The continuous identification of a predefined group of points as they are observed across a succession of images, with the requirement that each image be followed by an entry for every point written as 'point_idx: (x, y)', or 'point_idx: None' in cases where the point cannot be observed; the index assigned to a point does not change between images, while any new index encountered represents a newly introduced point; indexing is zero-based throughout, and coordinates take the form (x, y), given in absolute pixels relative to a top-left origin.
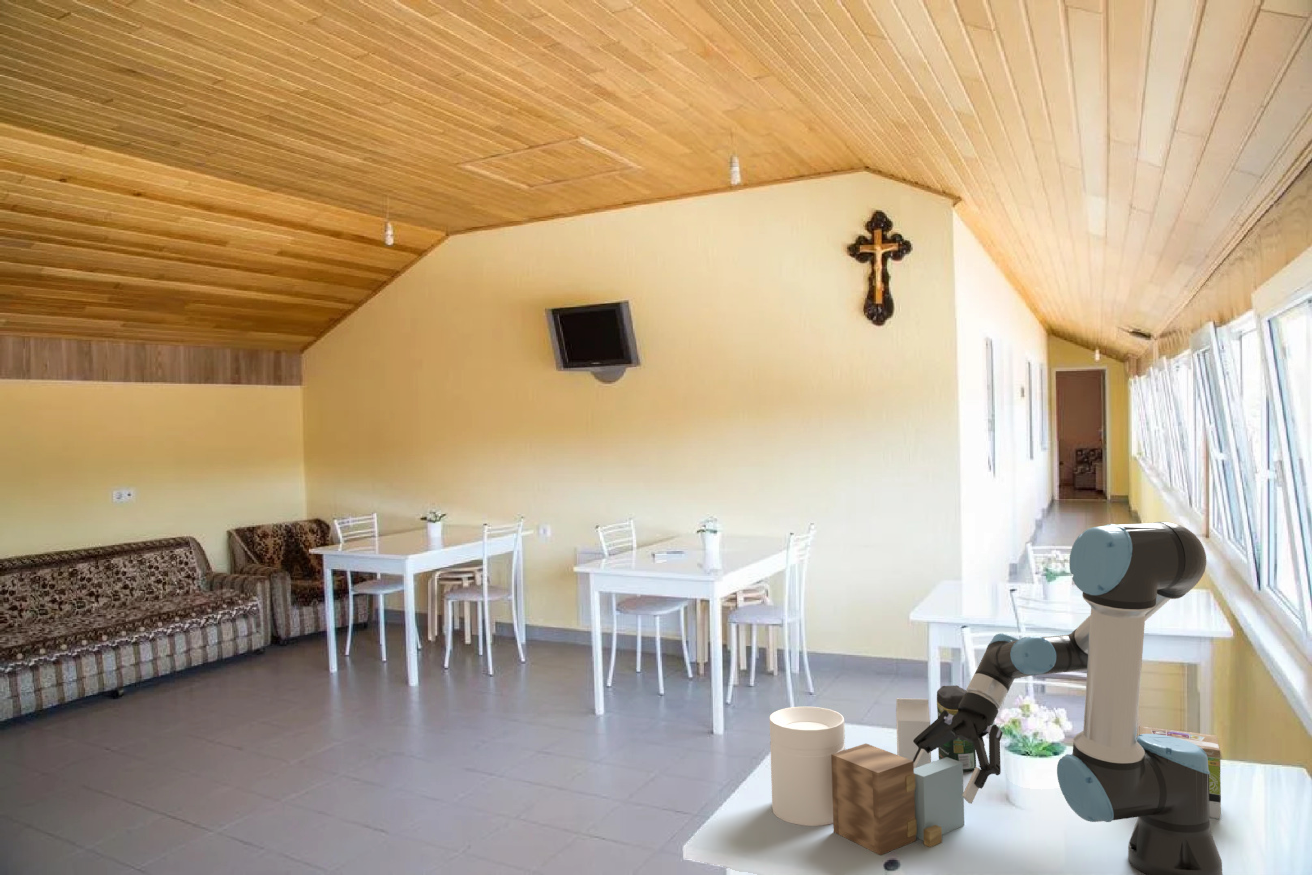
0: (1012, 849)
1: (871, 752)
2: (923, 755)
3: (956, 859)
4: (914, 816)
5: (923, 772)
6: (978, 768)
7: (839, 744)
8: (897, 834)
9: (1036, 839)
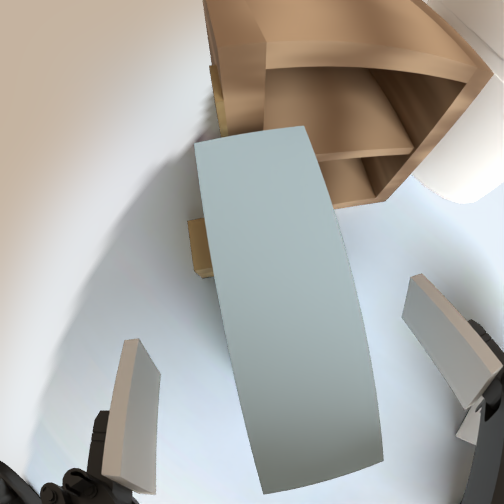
0: (104, 395)
1: (399, 17)
2: (471, 364)
3: (123, 250)
4: None
5: (243, 175)
6: (103, 471)
7: (481, 40)
8: None
9: None
